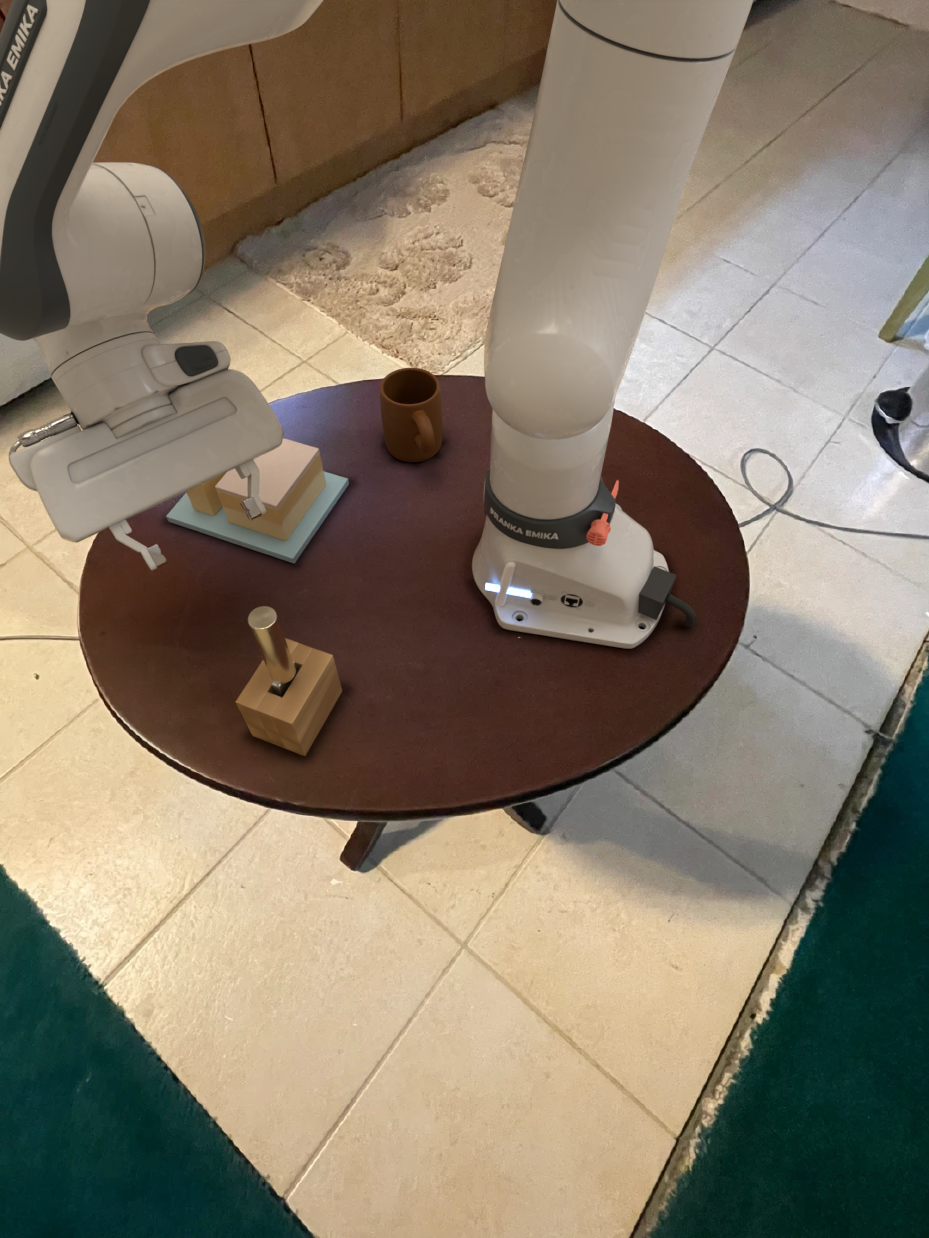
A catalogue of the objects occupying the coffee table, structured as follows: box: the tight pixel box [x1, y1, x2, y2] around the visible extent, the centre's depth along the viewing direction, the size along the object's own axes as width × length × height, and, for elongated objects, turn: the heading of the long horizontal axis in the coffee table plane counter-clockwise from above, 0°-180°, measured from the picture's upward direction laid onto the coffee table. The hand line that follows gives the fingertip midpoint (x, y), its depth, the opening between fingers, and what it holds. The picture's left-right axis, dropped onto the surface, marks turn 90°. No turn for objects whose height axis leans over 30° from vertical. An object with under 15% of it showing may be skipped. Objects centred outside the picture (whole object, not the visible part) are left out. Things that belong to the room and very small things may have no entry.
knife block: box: [235, 637, 343, 757], centre depth 75 cm, size 6×8×7 cm
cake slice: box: [185, 472, 227, 516], centre depth 92 cm, size 3×10×6 cm, turn 158°
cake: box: [165, 437, 350, 564], centre depth 92 cm, size 18×14×7 cm
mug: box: [379, 367, 443, 463], centre depth 96 cm, size 12×8×9 cm, turn 18°
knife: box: [247, 605, 298, 698], centre depth 71 cm, size 2×3×17 cm
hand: (210, 541), depth 66 cm, fingers open, 8 cm apart
